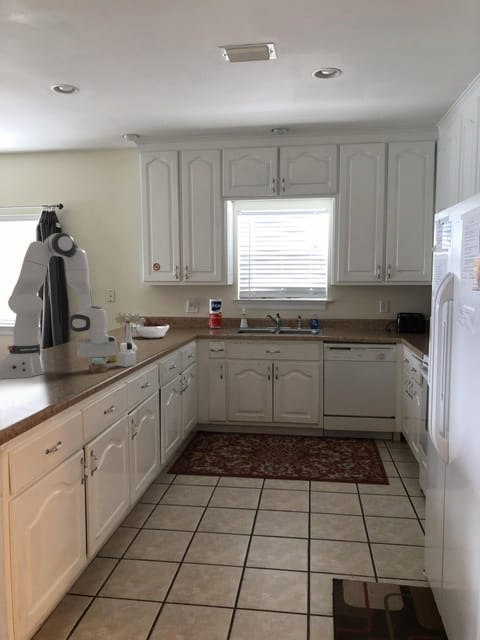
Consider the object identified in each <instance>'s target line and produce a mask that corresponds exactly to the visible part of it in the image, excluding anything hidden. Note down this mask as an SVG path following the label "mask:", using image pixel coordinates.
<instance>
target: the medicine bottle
mask: <svg viewBox="0 0 480 640" xmlns="http://www.w3.org/2000/svg"><path fill="white" fill-rule="evenodd" d="M120 343H121V344H120V352H119V354H118V355H117V361H116V366H118V367H123V368H126V367H127V368H129V367H134V366H137V353H136V352H137V351H136V352H132V343H125V342H120Z"/></svg>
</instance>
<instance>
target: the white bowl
mask: <svg viewBox="0 0 480 640" xmlns="http://www.w3.org/2000/svg"><path fill="white" fill-rule="evenodd" d="M143 324H144V327H142V325H141V329H140V324H137V325H136V324H135V325H136V326H135V329H136V330H137V332H138V333H139V334H140V336H141V337H142V338H146V339H159V338H163V337H164V336H165V335H166V333H167V331H168V330H169V328H170V325H169V324H167V323H166V322H165V320H163V319H160V320H157V318H149V319H148V320H146V321H145V322H144V323H143Z"/></svg>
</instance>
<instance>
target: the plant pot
mask: <svg viewBox="0 0 480 640" xmlns="http://www.w3.org/2000/svg"><path fill="white" fill-rule="evenodd" d="M116 343H117V344H118V350H119V352H121V351H120V344H121V343H122V342H121V341H120V342H117V341H116ZM107 362H117V356H109V359H108V361H107Z"/></svg>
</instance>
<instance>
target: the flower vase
mask: <svg viewBox="0 0 480 640" xmlns="http://www.w3.org/2000/svg"><path fill="white" fill-rule="evenodd" d="M126 315H127V314H126V313H123V314H122V313H121V312H119V313H118V316H117V317H114V320H115V321H116V322H115V323H117V324H119V325H120V326H121V327H122V326H123V324H124V325H125V328H126V330H125V331H126V332H125V333H126V334H125V336H126V337H125V341H124V343H132V352H137V351H138V346H137V345H136V344H135V343H134V341H133V338H132V335H133V334H132V328H133V327H132V326H133V324H134V325H138V324H139V325H140V329H141V325H142V327H144V324H143V323H144V322H145V321H147V319H145V315H144V316H143V317H142V318H140V317H139V313H137V314H136V313H134V315H132V314H131V312H129V313H128V316H126Z"/></svg>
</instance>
